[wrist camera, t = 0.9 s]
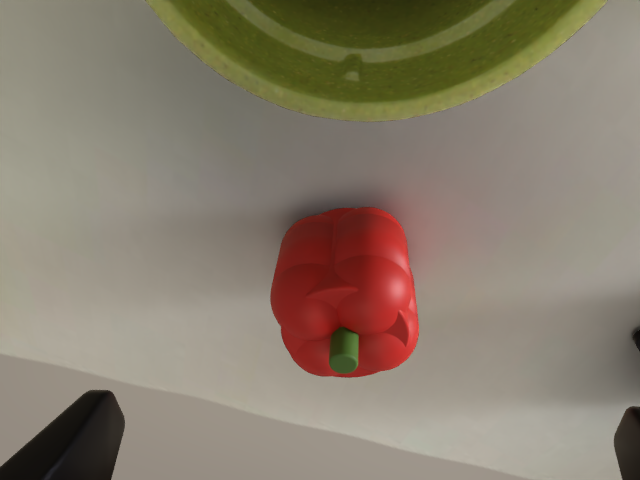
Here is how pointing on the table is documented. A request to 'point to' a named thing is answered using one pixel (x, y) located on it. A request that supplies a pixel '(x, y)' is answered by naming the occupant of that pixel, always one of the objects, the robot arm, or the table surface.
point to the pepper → (346, 293)
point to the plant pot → (372, 49)
